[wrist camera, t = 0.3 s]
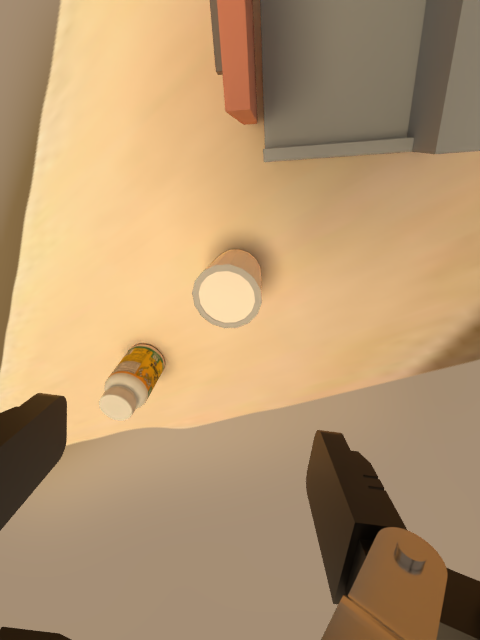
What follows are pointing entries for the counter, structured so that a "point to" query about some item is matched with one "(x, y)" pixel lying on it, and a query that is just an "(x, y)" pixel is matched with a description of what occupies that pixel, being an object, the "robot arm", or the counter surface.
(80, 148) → the counter surface
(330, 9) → the tray
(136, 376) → the supplement bottle
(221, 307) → the tan cylinder
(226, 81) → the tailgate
